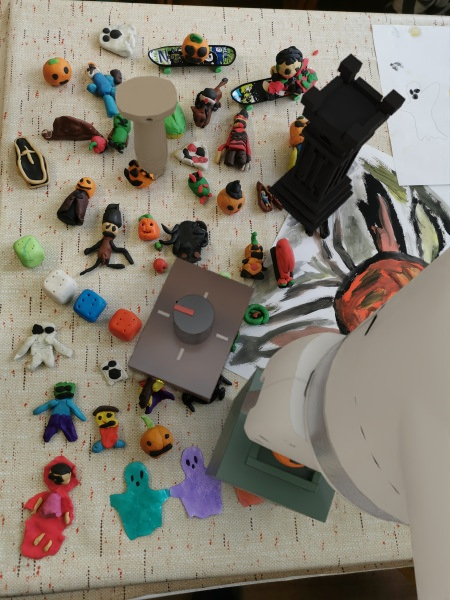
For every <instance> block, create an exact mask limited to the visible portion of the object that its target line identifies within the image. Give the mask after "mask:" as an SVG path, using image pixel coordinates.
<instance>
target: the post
mask: <svg viewBox="0 0 450 600" xmlns="http://www.w3.org/2000/svg"><path fill="white" fill-rule="evenodd" d="M263 371H264V370H261V369H258V368H256V369H255V370H254V372H253V373H252V374H251V375H250V377H249V379H247V381H246V383H244V385H243V386H242V388H241V389H240V390H239V392H238V393H237V394H236V396H235V397H234V398H233V400H232V403H231V406H230V408H229V411H228V413H227V416H226V417H225V418H226V419H225V421H224V424H223V426H222V429H221V431H220V434H219V436H218V439H217V441H216V443H215V446H214V449H213V452H212V455H211V457H210V459H209V462H208V464H207V467H206V470H205V472H204V476H207V477H209V478H211V479H214V480H216V481H218V482H221V483H223V484H226V485H228V486H230V487H233V488H235V489H237V490H240V491H243V492H245V493H248V494H250V495H252V496H254V497H257V498H260V499H261V500H265V501H267V502H269V503H272V504H274V505H275V506H278V507H282V508H284V509H286V510H290V511H292V512H294V513H297V514H300V515H302V516H305V517H307V518H310V519H314V520H316V521H318V522H321V523H323V524H324V523H326V522H327V520H328V516H329V513H330V509H331V506H332V503H333V500H334V497H335V494H336V491H335V490H334V489H333V488H332V487H331V486H330V485H329V484H328V482H327V481H326V479H325V478H324V476H323V475H322V473H321V472H318V471H310V470H308V469H306V468H304V467H289V466H286V465H284V464H282V463H281V462H279V461H278V460H277V459H276V457H275V456H274V454H273V452H272V450H270V449H268V448H266V447H264V446H262V445H260V444H258V443H256V442H254V441H252V440H250V439H249V438H248V436H247V434H246V432H245V429H244V425H245V421H246V418H247V415H245V414H243V413H241V412H240V410H241V408H242V405H243V402H244V400H245V397H246V394H247V392H249V391H256V390H261V389H262V386H263V382H261V381H260V378H261V375H262V373H263Z"/></svg>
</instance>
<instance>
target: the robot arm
mask: <svg viewBox="0 0 450 600" xmlns="http://www.w3.org/2000/svg"><path fill="white" fill-rule="evenodd" d="M262 371H263V373H262V375H261V378H260V381H261V382H263V386H262V389H261V390H256V391H249V392H247V394H246V397H245V400H244V402H243V405H242V408H241V410H240V412H241V413H243V414H245V415H247V418H246V421H245V425H244V429H245V432H246V434H247V436H248V438H249V439H250V440H252V441H254V442H256V443H258V444H260V445H262V446H264V447H266V448H268V449H270V450H272V451H274V452H277V453H279V454H281V455H283V456H285V457H287V458H290V460H289V462H291V463H294V464H296V465H300V464H302V465H304V468H306V469H308V470H310V471H318V472H321V473H322V475H323V476H324V478H325V479H326V481H327V482H328V484H329V485H330V486H331V487H332V488H333V489H334V490H335V493H336V494H337V495H339V496H340V498H342V499H343V500H344V501H345V502H347V503H348V504H349V505H350V506H352V507H354V508H355V509H357V510H359V511H361V512H363V513H364V514H366V515H368V516H370V517H373V518H376V519H379V520H381V521H386V522H392V523H396V524H400V525H404V526H408V527H409V535H410V542H411V552H412V559H413V560H412V561H413V569H414V577H415V584H416V585H415V586H416V587H415V588H416V594H417V595H416V596H417V600H450V246H449V247H447V248H446V249H445V250H444V251H443V252H442V253H440V254H439V256H437V257H436V258H435V259H434V260H432V261H431V262H430V263H429V264H428V265H427V266H426V267H424V268H423V269H422V270H420V272H418V274H416V275H415V276H414V277H413V278H412V279H411V280H409V281H408V282H407V283H406V284H404V286H402V287H401V288H400V289H399V290H398V291H396V292H395V293H394V294H393V295H392V296H391V297H389V298H388V299H386V301H385V302H384V303H382V304H381V305H380V306H379V307H377V308H376V309H375V311H373V312H372V313H371V314H370V315H368V317H366V318H365V319H364V320H363V321H361V322H360V323H359V325H357V326H356V327H355V328H354V329H353V330H351V331H350V332H349V333H347V334H342V333H336V332H334V331H333V332H332V331H324V332H317V333H312V334H308V335H304V336H301V337H299V338H297V339H294V340H292V341H291V342H289V343H287V344H285V345H284V346H283V347H281V348H280V349H279V350H277V351H276V352H275V353H274V354H273V355H271V357H269V359H268V361H267V363H266V364H265V367H264V369H263V370H262Z"/></svg>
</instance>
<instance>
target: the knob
mask: <svg viewBox="0 0 450 600" xmlns="http://www.w3.org/2000/svg"><path fill="white" fill-rule="evenodd" d="M213 321H214V308H213V306H212V304H211V303H210V301H209V300H207V299H206V298H205V297H203V296H200V295H196V294H192V295H187V296H184V297H182V298H181V299H180V300H179V301H178V302H177V303H176V304H175V306H174V309H173V326H174V332H175V334H176V336H177V337H178V338H179V339H180V340H181V341H183V342H185V343H187V344H199V343H201V342H203V341H205V340H206V339H207V338H208V337H209V335H210V333H211V330H212V326H213Z"/></svg>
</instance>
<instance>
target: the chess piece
mask: <svg viewBox="0 0 450 600" xmlns="http://www.w3.org/2000/svg"><path fill="white" fill-rule="evenodd" d="M363 65H364V63H363V62H362V61H361V60H360V59H359V58H357V57H356V55H354V54H352V53H349V54H348V55H347V56H346V57H344V59H342V60H341V61H340V63H339V64H338V67H337V72H338V73H339V75H338V74H337V75H336V76H334V78H332V79H331V80H330V81H329V82H328V83H327V84H325V86H323V87H322V88H321V89H319V88H318V87H317V86H315V85H312V86H311V87H309V88H308V89H307V90H306V91H305V92H304V93H303V94H302V96H301V98H300V104H301V105H302V106H304V107H303V110H302V112H301V116H302V117H303V118H304V119H305V120H306V121H308V123H307V124H306V125H305V126H304V127H302V129H301V131H300V134H301V135H302V136H303V141H302V143H301V145H300V149H299V151H298V154H297V157H296V159H295V162H294V165H293V166H291V168H289V169H288V170H287V171H286V172H285V173H284V174H283V175H282V176H281V177H279V179H278V180H276V181H275V182H274V183H273V184H272V185H271V186H270V187H269V188H268V189H267V190H268V191H269V192H270V193H271V194H272V195H274V197H275V198H276V199H278V201H279V202H280V203H281V204H282V206H281V207H282V208H283V209H284V211H286V212H287V213H288V214H289V215H290V216H292V218H293V219H294V220H295V221H297V222H298V223H299V224H300V225H301V226H302V227H303V228H305V230H307V232H309V233H310V234H311V235H312V234H313V233H314V232H316V231H317V230H318V229H319V228H320V227H321V226H322V225H323V224H324V223H325V222H326V221H327V220H328V219H329V218H330V217H331V216H332V215H334V213H336V212H337V210H338V209H340V208H341V207H342V206H343V205H344V204H345V203H346V202H347V201H348V200H349V199H350V198H351V197H352V196H353V195H354V193H355V192H354V191H353V190H352V189H353V187H354V185H352V184H351V183H352V182H353V179H351V178H350V176H349V175H348V173H349V171H350V169H351V167H352V165H353V164H354V162H355V160H356V158H357V157H358V155H359V153H360V151H361V149H362V148H363V146H364V145H366V144H367V142H368V141H370V140H371V139H372V138H373V137H374V135H375V134H376V131H377V130H378V129H379V128H380V127H381V126H382V125H383V124H385V123H386V122H387V121H388V120H389V119H390V117H392V116H393V115H395V113H397V112H398V110H399V109H400V108H402V107H403V105H404V103H405V101H406V100H407V98H406V97H404V96H403V95H402V94H401V93H399V91H397V90H396V89H394V88H393V89H391V90H390V91H389V92H388V93H387V94H386V95H385V96H384V95H383V94H382V93H381V92H380V91H378V90H377V89H376V88H375V87H373V86H372V85H371V84H370V83H368V82H367V81H366V80H365V79H364V78H363V77H361V76H360V75H359V76H358V77H357V74H358V73H360V71H361V69H362V67H363ZM356 77H357V78H356Z"/></svg>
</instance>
